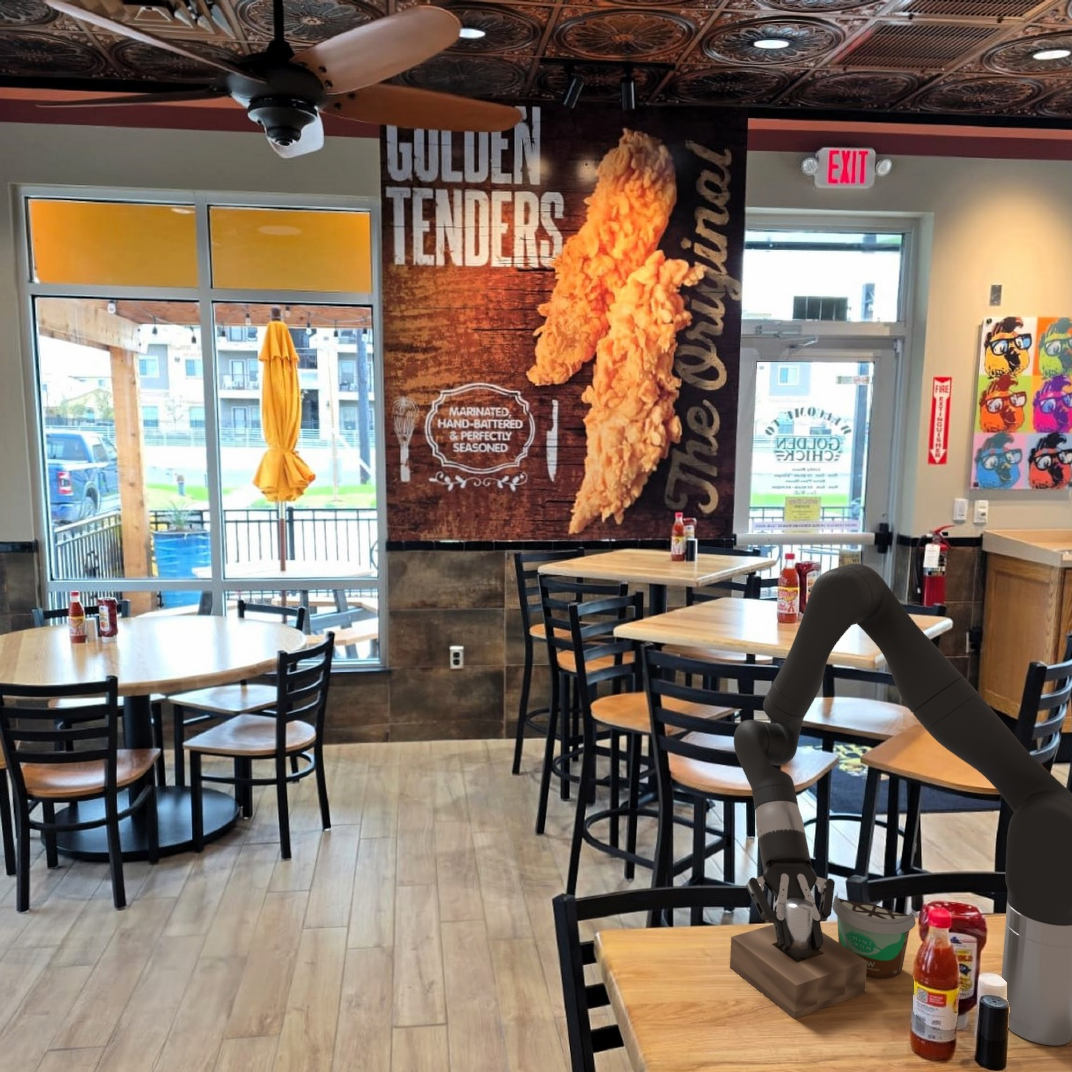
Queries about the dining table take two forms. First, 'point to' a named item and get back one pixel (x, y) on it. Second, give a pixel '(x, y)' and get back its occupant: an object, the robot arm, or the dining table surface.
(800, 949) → the steel pin
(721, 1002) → the dining table surface
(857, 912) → the food container
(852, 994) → the socket block
